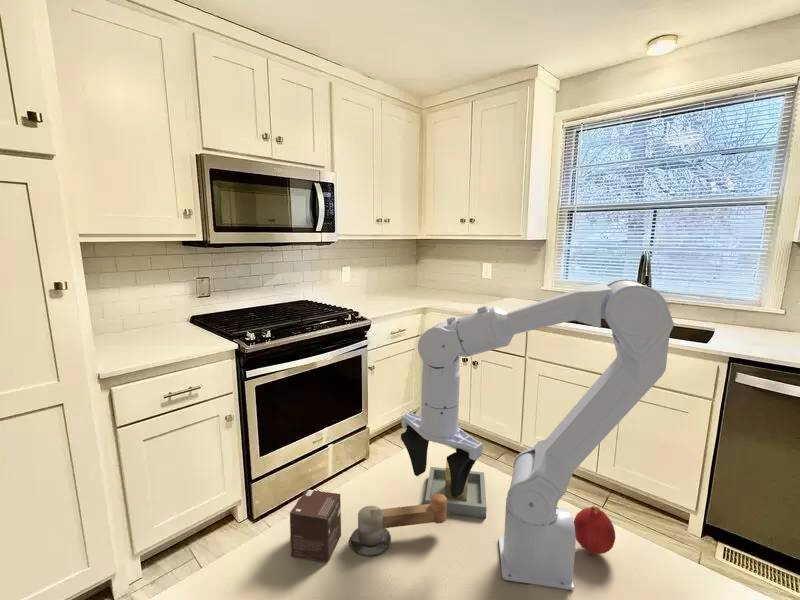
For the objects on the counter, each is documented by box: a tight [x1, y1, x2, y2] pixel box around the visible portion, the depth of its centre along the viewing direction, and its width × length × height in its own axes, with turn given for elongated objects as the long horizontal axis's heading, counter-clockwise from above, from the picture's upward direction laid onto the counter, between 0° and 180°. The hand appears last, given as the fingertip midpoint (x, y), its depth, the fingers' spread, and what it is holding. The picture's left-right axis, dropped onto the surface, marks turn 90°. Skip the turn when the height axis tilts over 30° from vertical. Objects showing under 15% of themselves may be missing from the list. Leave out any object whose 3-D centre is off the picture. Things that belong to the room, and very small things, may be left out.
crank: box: [357, 494, 447, 546], centre depth 63 cm, size 14×4×5 cm, turn 100°
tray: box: [424, 466, 488, 519], centre depth 74 cm, size 11×11×2 cm
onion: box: [573, 504, 616, 556], centre depth 60 cm, size 6×6×8 cm
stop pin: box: [445, 455, 468, 501], centre depth 73 cm, size 4×4×6 cm
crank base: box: [349, 527, 392, 558], centre depth 62 cm, size 6×6×1 cm
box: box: [289, 489, 342, 563], centre depth 61 cm, size 6×6×7 cm
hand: (437, 483), depth 62 cm, fingers open, 7 cm apart
